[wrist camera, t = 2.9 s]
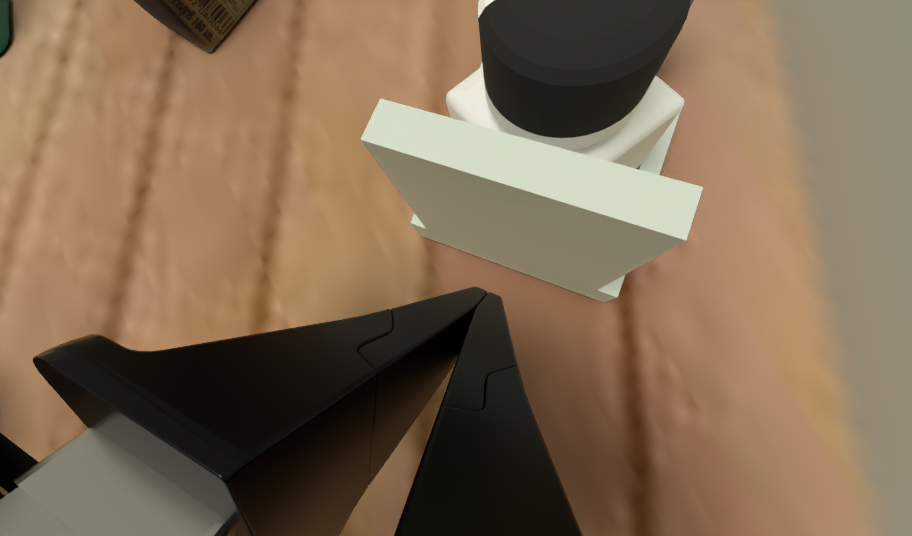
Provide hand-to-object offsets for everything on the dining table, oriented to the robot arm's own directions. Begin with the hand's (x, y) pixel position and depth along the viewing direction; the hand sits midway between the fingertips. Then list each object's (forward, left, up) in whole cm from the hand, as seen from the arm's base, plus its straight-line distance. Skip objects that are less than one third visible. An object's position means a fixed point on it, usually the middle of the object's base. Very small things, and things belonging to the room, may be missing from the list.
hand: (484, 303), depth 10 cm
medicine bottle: (+9, 0, -10) cm, 14 cm away
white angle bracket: (+9, 0, -10) cm, 14 cm away
